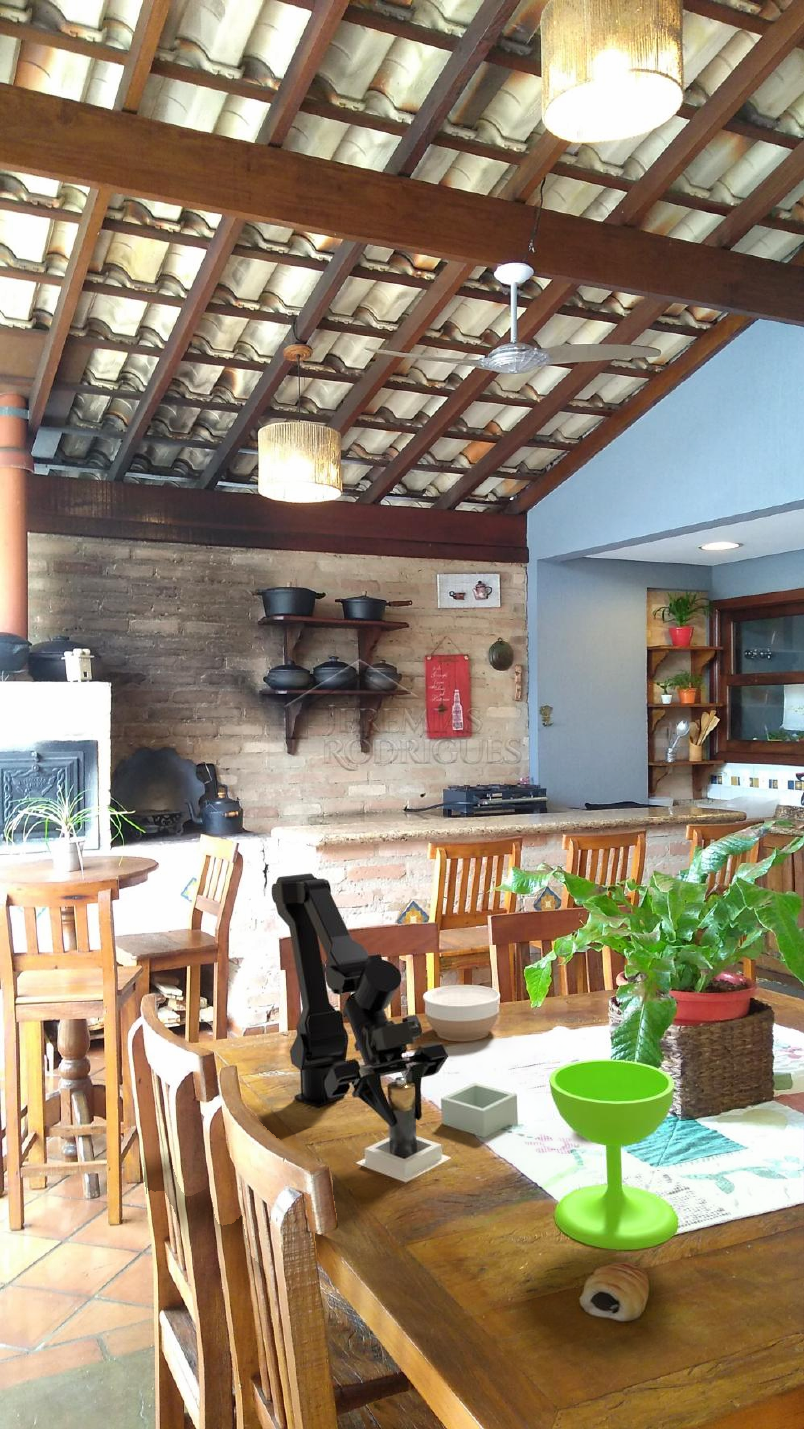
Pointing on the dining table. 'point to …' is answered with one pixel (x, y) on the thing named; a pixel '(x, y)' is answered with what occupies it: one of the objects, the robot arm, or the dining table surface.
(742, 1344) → the dining table surface
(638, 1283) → the pastry
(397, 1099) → the cell
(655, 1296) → the dining table surface
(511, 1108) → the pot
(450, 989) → the bowl
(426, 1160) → the cradle
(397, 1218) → the dining table surface
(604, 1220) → the wineglass
